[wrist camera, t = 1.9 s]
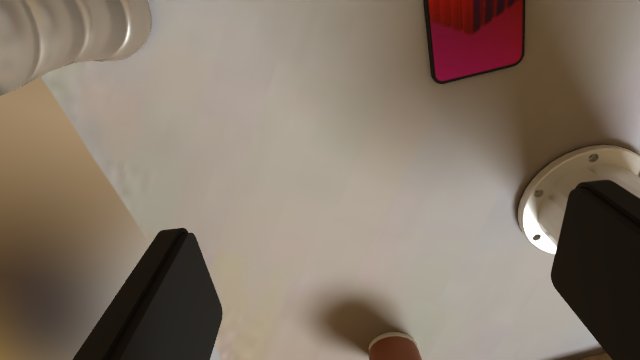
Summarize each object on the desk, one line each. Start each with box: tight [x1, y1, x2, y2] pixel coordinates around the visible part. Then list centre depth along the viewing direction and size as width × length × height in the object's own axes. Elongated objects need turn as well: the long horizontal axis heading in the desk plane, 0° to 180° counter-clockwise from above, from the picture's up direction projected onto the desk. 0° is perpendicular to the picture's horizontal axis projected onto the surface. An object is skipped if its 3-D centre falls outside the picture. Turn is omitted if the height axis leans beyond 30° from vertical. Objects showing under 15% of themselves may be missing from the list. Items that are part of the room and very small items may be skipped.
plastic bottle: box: [0, 0, 152, 96], centre depth 19 cm, size 6×7×20 cm
